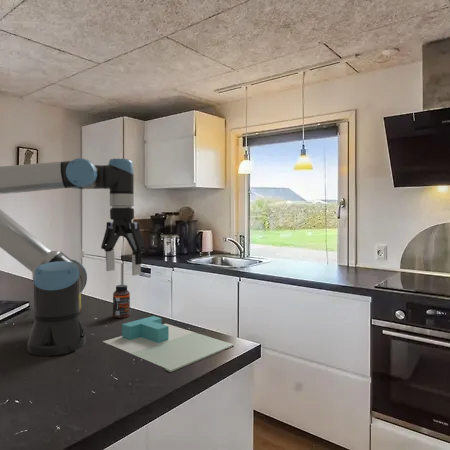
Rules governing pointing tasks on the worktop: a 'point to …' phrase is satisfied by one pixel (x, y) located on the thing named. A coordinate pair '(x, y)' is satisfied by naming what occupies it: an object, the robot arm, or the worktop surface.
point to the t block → (146, 329)
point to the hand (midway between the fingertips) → (123, 272)
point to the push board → (172, 348)
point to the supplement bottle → (121, 302)
